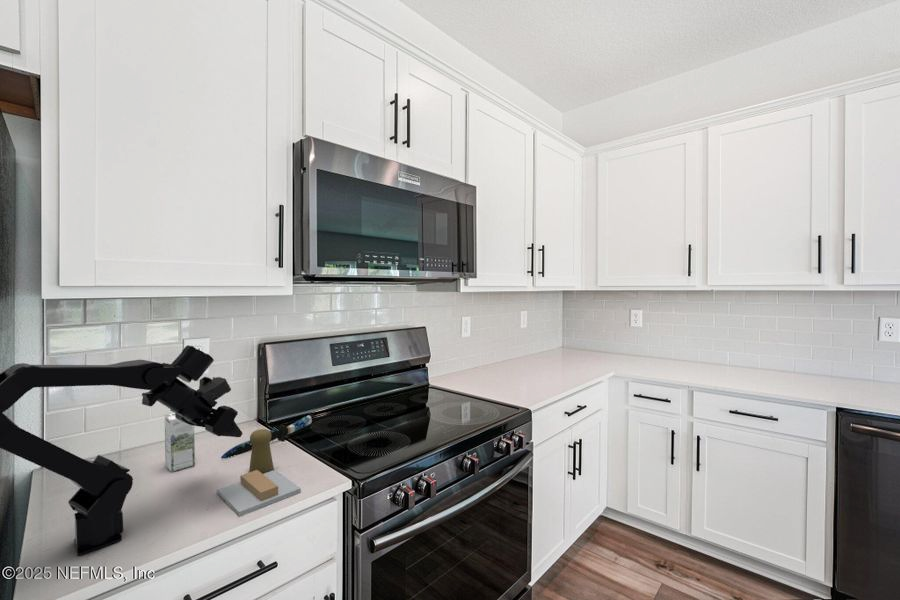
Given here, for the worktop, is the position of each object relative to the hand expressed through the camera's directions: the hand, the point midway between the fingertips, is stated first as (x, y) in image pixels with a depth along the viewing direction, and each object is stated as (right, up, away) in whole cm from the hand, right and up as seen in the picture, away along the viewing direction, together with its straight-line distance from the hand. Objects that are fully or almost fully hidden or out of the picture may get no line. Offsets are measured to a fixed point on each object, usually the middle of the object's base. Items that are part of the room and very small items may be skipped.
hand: (230, 431), depth 102 cm
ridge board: (+9, -13, -4) cm, 17 cm away
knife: (-1, -12, +26) cm, 29 cm away
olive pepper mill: (+4, -13, +7) cm, 16 cm away
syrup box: (-19, -13, +10) cm, 25 cm away
